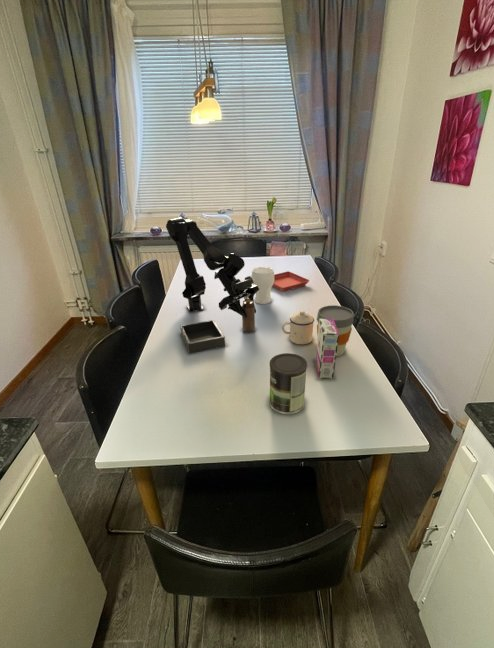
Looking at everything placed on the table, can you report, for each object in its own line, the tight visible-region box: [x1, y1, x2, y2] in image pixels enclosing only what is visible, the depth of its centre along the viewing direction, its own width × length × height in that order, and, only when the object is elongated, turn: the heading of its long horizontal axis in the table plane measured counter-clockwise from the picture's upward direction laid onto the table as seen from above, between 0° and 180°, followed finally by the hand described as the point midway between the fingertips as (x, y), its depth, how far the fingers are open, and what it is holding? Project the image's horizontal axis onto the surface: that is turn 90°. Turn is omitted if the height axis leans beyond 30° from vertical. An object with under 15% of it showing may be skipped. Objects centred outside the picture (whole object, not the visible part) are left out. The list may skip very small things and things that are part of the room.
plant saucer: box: [272, 271, 310, 292], centre depth 184 cm, size 18×18×3 cm
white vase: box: [250, 266, 275, 305], centre depth 163 cm, size 11×11×15 cm
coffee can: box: [268, 352, 308, 415], centre depth 99 cm, size 10×10×14 cm
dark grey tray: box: [179, 319, 226, 354], centre depth 134 cm, size 16×14×4 cm
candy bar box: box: [315, 319, 339, 380], centre depth 112 cm, size 11×5×16 cm, turn 178°
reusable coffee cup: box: [316, 304, 355, 357], centre depth 123 cm, size 13×13×15 cm
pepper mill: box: [241, 298, 256, 333], centre depth 138 cm, size 5×5×14 cm
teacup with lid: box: [281, 310, 315, 345], centre depth 131 cm, size 12×9×12 cm
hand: (250, 315), depth 137 cm, fingers closed on pepper mill, 5 cm apart
